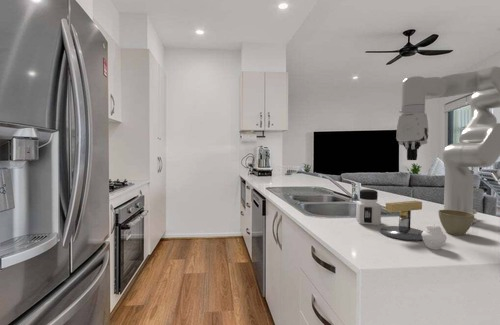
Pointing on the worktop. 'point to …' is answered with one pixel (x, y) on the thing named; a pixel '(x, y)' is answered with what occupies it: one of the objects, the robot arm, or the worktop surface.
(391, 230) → the post base
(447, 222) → the olive brown bowl
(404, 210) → the tan t-shaped block
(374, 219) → the container
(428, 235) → the white rounded lump
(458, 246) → the worktop surface
